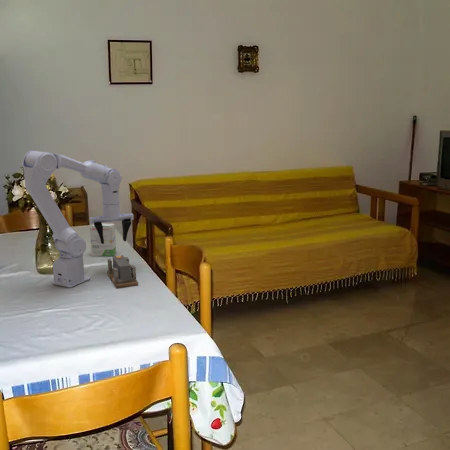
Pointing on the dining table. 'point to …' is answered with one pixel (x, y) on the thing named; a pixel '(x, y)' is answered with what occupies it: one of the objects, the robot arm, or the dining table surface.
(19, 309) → the dining table surface
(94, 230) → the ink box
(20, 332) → the dining table surface
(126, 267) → the grey rectangular block
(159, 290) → the dining table surface
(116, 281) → the cradle
